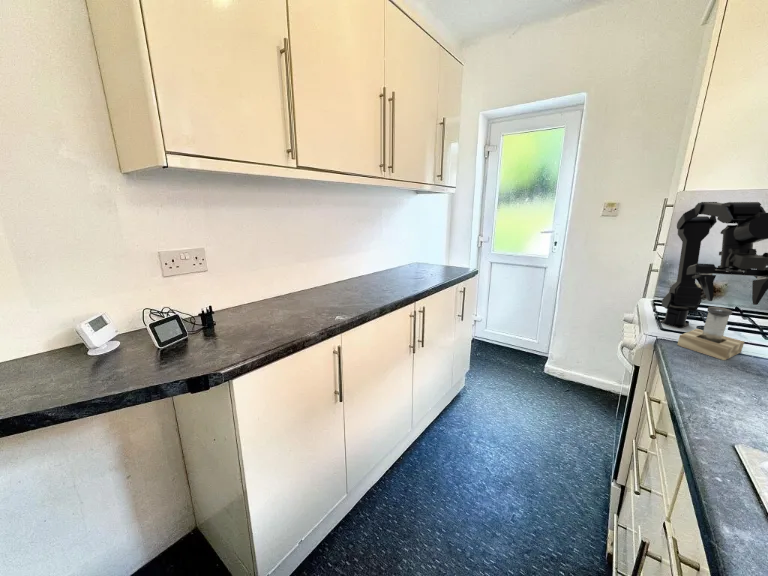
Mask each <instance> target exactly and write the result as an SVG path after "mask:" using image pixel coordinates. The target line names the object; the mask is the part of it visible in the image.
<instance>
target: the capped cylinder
mask: <svg viewBox="0 0 768 576" xmlns="http://www.w3.org/2000/svg"><path fill="white" fill-rule="evenodd" d="M732 314H733V310H731V309H729V308H724V307H719V306H708V307H707V314H706V315H707V316H706V319H705V323H704V324H703V325H704V326H703V329H702V330H703V332H702V336H701V338H702V339H705V340H709V341H712V342H716V343H721V341H722V338H723V336H725V335H724V334H725V331H726V327H727V325H728V323H729V318H730V316H731V315H732Z"/></svg>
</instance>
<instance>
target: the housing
mask: <svg viewBox="0 0 768 576" xmlns="http://www.w3.org/2000/svg"><path fill="white" fill-rule="evenodd" d="M702 332H703V329H699V328H695V329H692V330H690V331H687V332H684V333H682V334H679V337H678V341H677V344H676V345H677V346H679V347H682V348H684V349H687V350H691V351H694V352H696V353H697V352H698V353H701V354H703V355H706V356H710V357H712V358H713V357H714V358H716V359H718V360H722V361H726V360H729V359H731V358H732V357H734V356H736V355H739V354H740V353H742V350H743V348H744V345H745V341H743V340H739V339H736V338H733V337H729V336H725V335H723V338H722V341H721V343H716V342H712V341H709V340H705V339H702V338H701V336H702Z"/></svg>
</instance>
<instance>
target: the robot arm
mask: <svg viewBox="0 0 768 576" xmlns="http://www.w3.org/2000/svg"><path fill="white" fill-rule="evenodd" d="M699 215H704V216H699ZM709 216H710V217H709ZM717 221H719V222H721V223H723V224H727V225H726V226H725V228H723V229H722V230H721V231H720V234H721V235H722V243H721V250H720V251H719V252H718V256H720V265H718V266H715V264H714V263H699V259H700V252H701V245H702V242H703V240H704V239H705V238H706V237H707V236H709V234H710V232H711V231H710V230H711V229H712V228H713V226H715V224H716V223H717ZM733 224H734V225H733ZM676 229H677V236H678V237H679V239H680V241H681V242H682V243H681V251H680V258H679V263H678V270H677V271H678V272H677V277H676V281H675V283H674V284H673V285H672V286H671V287H670V288H669V290H668V293H667V294H666V295H665V296H664V297H663V298H662V299H661V306H662V307H663V308H664V309H666V313H665V317H664V319H661V320H659V323H661V324H664V325H669V326H671V327H674V328H678V329H682V328H686V327H688V326H690V323H688V322H686V321H687V318H688V314H689V312H694V313H695V312H697V310H698V309H699V306H700V304H701V303H702V297H701V294H702V290H703V292H704V295H705V297H706V299H707V301H709V302H712V301H713V299H714V281H715V280H716V277H717V275H729V276H745V277H755V278H756V279H753V280H752V288H751V289H752V290H751V291H752V292H751V293H752V295H751V296H752V297H751V299H752V305H759V303H760V302H761V300H762V298H763V297H764V295H765V294H766V292H767V291H768V252H764V253H763V254H757V248H754V244H755V243H758V242H762V241H765V240H768V212H767V211H766V210H765V209H764V207H763V206H762V204H761V203H760V202H758V201H734V202H733V201H729V202H723V203H722V202H717V201H701V202H698V203H697V204H696V205H695V206H694V207H693V208H690V209H689V210H687V211H685V212H684V213H683V214H682V215H681V217H680V218H679V219H678V221H677V222H676ZM696 281H697V283H698V284H699V285H700V287H699V286H698V285H697V283H696Z"/></svg>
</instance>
